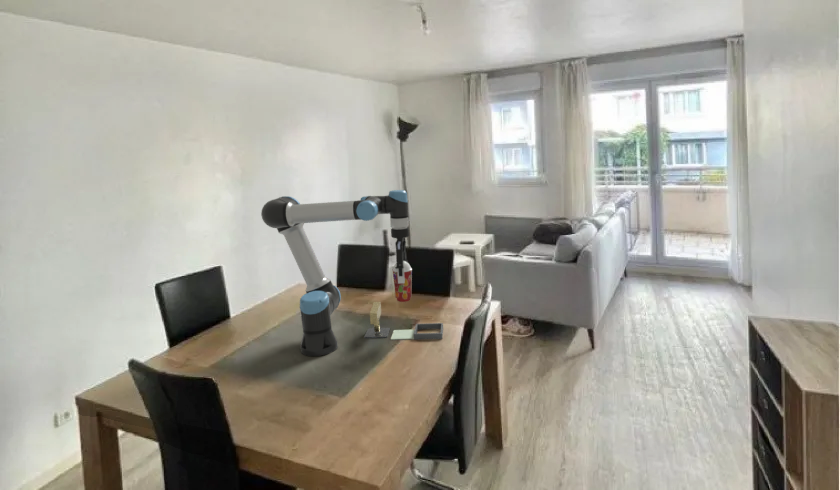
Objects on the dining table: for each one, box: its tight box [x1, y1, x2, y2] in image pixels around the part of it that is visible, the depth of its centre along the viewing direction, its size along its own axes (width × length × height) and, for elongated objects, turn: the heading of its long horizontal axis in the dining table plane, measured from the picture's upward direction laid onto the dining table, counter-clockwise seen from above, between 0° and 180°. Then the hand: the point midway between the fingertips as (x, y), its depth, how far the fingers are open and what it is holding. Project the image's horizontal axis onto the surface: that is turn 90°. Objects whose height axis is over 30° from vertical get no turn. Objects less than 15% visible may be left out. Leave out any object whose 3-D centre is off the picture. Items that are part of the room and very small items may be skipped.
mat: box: [390, 329, 415, 341], centre depth 216 cm, size 10×10×1 cm
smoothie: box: [392, 261, 413, 303], centre depth 211 cm, size 8×8×20 cm
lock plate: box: [363, 327, 391, 339], centre depth 220 cm, size 10×10×1 cm
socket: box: [413, 322, 444, 341], centre depth 215 cm, size 12×12×2 cm
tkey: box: [369, 301, 382, 332], centre depth 218 cm, size 15×3×11 cm, turn 178°
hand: (402, 280), depth 211 cm, fingers closed on smoothie, 8 cm apart
